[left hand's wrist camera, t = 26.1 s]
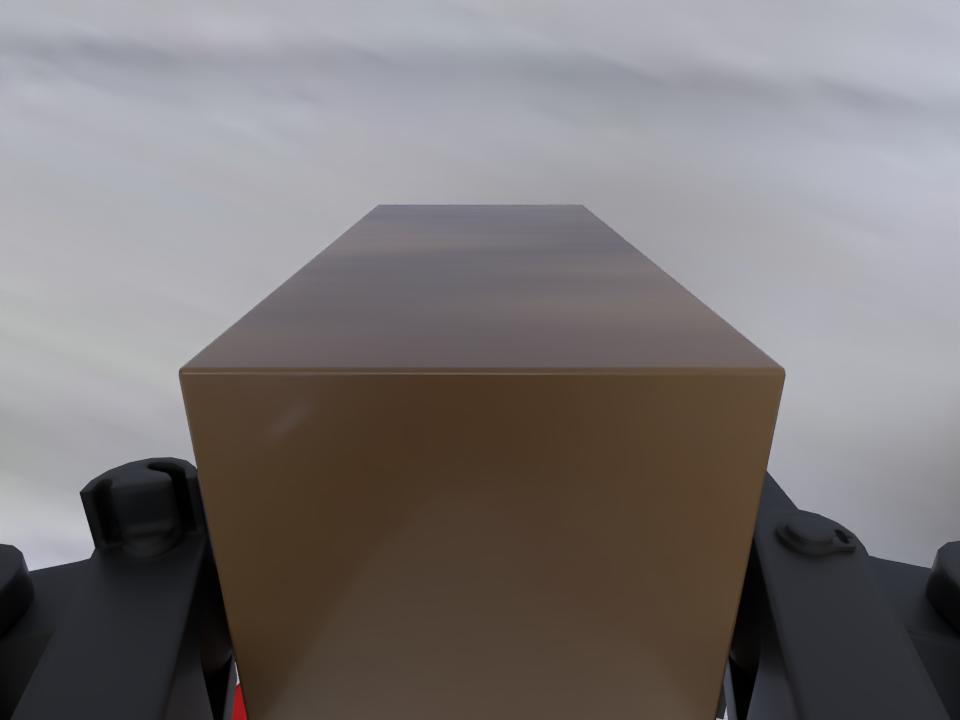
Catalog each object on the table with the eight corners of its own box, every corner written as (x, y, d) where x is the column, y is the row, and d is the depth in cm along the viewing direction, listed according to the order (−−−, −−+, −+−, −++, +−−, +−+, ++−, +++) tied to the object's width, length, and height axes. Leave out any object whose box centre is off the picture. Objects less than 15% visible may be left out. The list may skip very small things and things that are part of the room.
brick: (583, 204, 15) (789, 369, 5) (567, 477, 18) (676, 924, 8) (377, 204, 15) (173, 369, 5) (394, 477, 18) (286, 926, 8)
